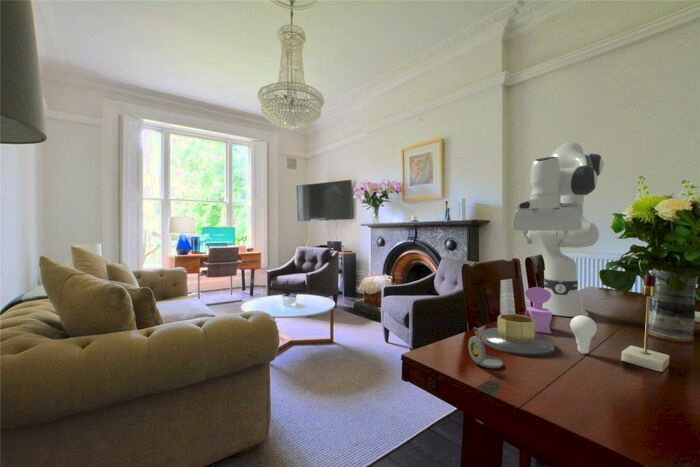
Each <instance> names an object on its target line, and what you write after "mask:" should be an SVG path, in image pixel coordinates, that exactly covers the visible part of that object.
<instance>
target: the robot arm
mask: <svg viewBox="0 0 700 467" xmlns="http://www.w3.org/2000/svg"><path fill="white" fill-rule="evenodd" d="M603 168H604V160H603V158H602V155H600V154H597V153H590V154H589V153H588V154H586V153H585V154H584V149H583V147H582V146H581V144H579V143H577V142H574V141H573V142H572V141H570V142H566V143H563V144H561V145H560V146H558V147H557V148H556V149H555V150H554V151H553V152H552V154H551V155H550V156H546V157H542V158H541V157H540V158H536V159H535V160H533V162H532V164H531V170H530V189H531V192H530V197H529V198H530V199H528V200H524V201H521V202H519V203H516V205H515V208H516V211H515V212H513V214H512V215H513V216H512V221H511V229H512V230H513V231H515V232H519V231H520V232H521V231H522V234H523V237H525V239H526V244H527V245H532V246H534V247H535V248H536V249H537V250H538V251H539V253H540V255H541V256H542V259H543V262H544V274H545V275H544V278H543V286H544V289H546V290H548V291H549V292H550V293H551V297H550V299H549V300H548V301H547V302H545V303H543V305H542V308H547V309H548V310H549V311H551V312H552V316H553V315H555V316H560V317H570V318H571V317H572V318H574V317H576V316H580V315H583V316H587V317H589V313H588V312H587V311H586V310H584V309H583V307H584V306H583V295H582V293H580V292H579V291H578V289H579V283H578V282H579V281H578V280H577V263H576V261H575V260H574V259H573V258H572V257H569V256H568V255H565V254H564V253H562V251H561V248H576V249H580V248H587V247H593V246H594V245H595V244H596V243H597V242H598V241H599V237H600V231H599V228H598V227H597V225H595V223H593V222H591V221H589V220H587V219H586V218H585V217H584V215H583V213H584V207H583V206H584V200H585V196H588V195H589V194H591V193H592V192H593V191H595V190H596V187H597V185H598V177H599V176H600V174H601V173H602V171H603Z"/></svg>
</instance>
